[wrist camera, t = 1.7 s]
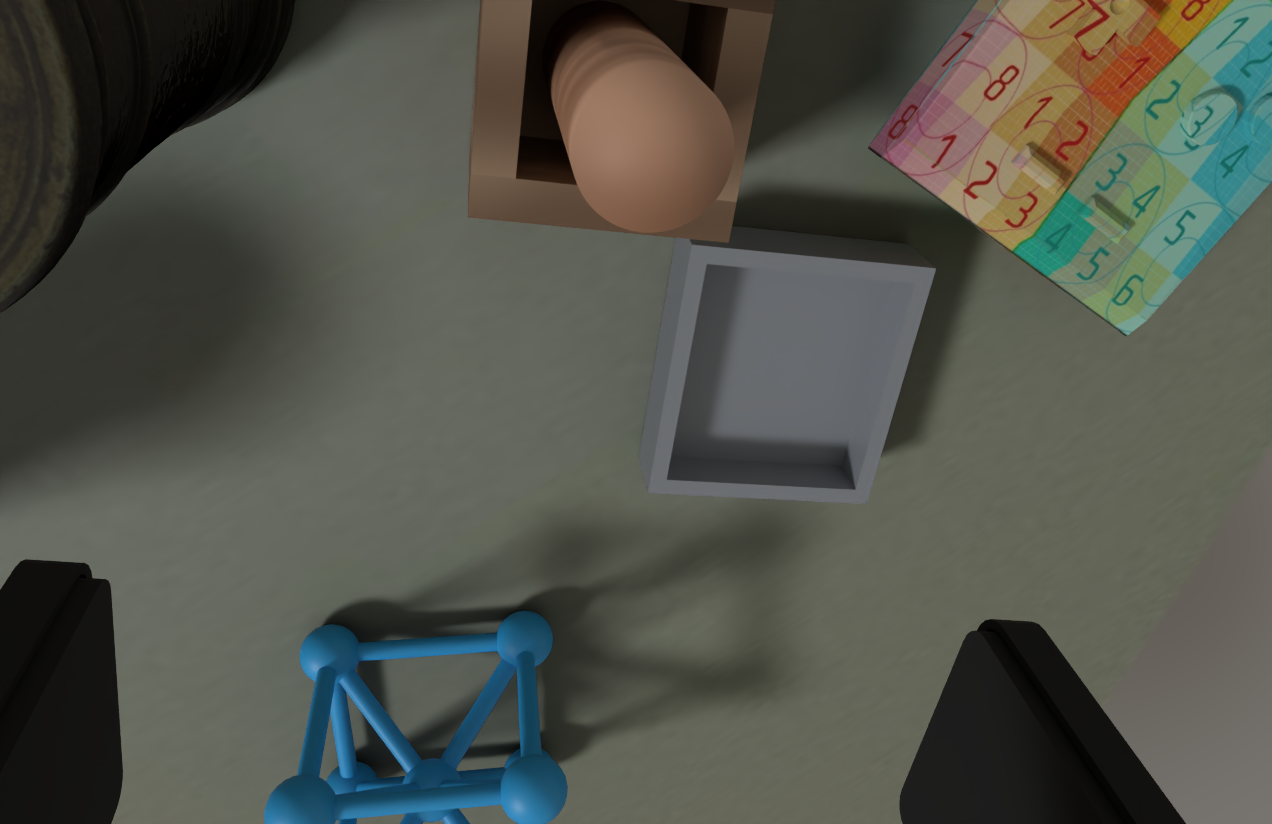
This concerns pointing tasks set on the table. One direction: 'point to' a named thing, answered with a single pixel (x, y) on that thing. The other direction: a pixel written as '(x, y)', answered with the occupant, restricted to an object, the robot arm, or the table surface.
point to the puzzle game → (1096, 137)
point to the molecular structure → (430, 786)
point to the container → (108, 103)
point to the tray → (780, 364)
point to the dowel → (635, 120)
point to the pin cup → (528, 127)
